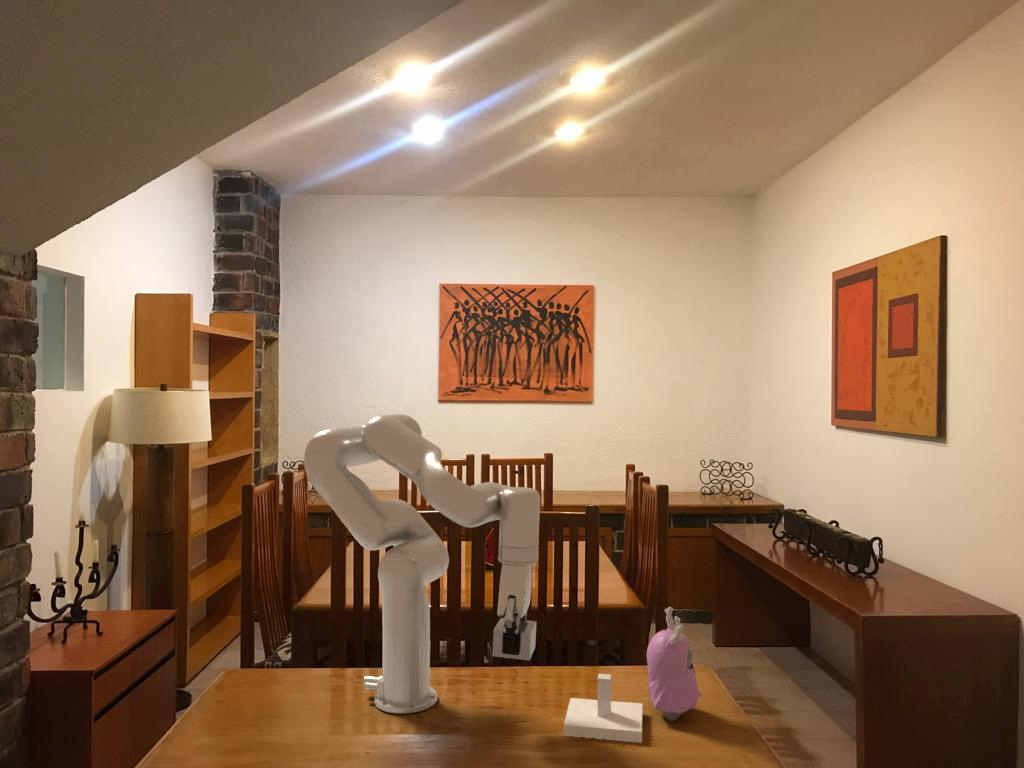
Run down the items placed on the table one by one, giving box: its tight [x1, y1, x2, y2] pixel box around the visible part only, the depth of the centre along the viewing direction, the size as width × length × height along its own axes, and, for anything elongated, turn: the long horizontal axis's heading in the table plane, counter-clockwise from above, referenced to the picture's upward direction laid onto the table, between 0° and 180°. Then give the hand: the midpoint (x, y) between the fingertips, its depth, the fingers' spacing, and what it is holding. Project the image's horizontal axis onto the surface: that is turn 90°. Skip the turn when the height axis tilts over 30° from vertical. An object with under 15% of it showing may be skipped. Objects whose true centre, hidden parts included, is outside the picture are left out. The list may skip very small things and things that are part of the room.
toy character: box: [646, 606, 702, 722], centre depth 142 cm, size 12×10×20 cm
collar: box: [492, 617, 537, 661], centre depth 139 cm, size 7×7×5 cm
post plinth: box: [563, 673, 643, 744], centre depth 137 cm, size 14×12×9 cm
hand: (514, 645), depth 139 cm, fingers closed on collar, 7 cm apart
